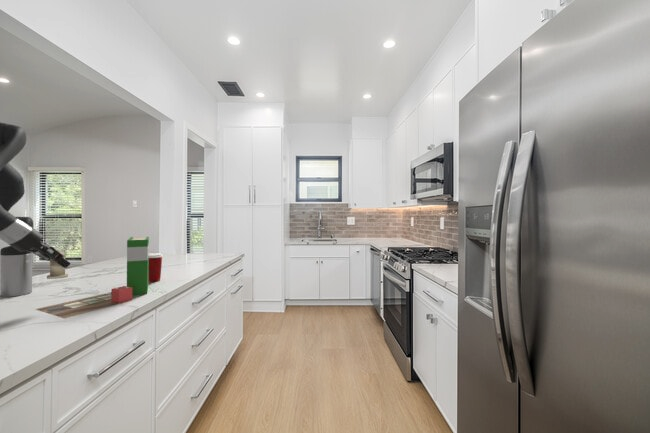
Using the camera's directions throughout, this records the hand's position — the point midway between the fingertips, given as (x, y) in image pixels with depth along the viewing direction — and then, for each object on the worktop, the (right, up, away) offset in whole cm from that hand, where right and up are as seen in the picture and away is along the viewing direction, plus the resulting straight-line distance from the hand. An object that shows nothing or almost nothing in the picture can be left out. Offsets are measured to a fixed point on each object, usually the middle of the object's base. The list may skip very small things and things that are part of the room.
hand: (64, 265), depth 104 cm
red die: (+14, -16, +10) cm, 24 cm away
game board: (+5, -16, +4) cm, 17 cm away
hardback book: (+11, -16, +25) cm, 32 cm away
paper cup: (+7, -16, +43) cm, 46 cm away
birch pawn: (-1, -4, -2) cm, 5 cm away
